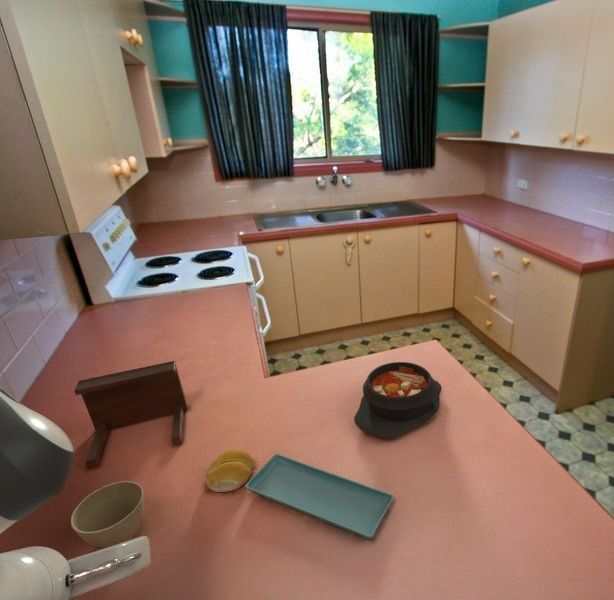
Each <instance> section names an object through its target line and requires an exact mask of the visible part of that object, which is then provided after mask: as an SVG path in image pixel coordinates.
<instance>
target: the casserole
mask: <svg viewBox="0 0 614 600" xmlns="http://www.w3.org/2000/svg"><path fill="white" fill-rule="evenodd" d="M441 392H442V385H441V383H440V382H439V381H437V380H436V379H434V378H433V377H432V375H431V373H430V372H429V371H428V370H427V368H425V367H423V366H421V365H419V364H416V363H413V362H406V361H393V362H387V363H385V364H381V365H380V366H377V367H375V368H374V369H372V370H371V371H370V372H369V374H368V375H367V378H366V379H365V381H364V382H363V385H362V394H363V396H362V397H361V400H360V403H359V407H358V409H357V411H356V413H355V415H354V417H353V421H354V424H355V425H356V426H357V427H358V429H360V430H361V431H363V432H364V433H366V434H369V435H372V436H374V437H379V438H390V439H391V438H395V437H398V436H401V435H402V434H404V433H406V432H407V431H409V430H411V429H413V428H416V427H418V426H421V425H423V424H425V423H427V422H429V421H430V420H432V418H434V416H436V415H437V413H438V411H439V408H440V404H441V403H440V395H441Z"/></svg>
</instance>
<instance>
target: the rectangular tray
mask: <svg viewBox="0 0 614 600" xmlns="http://www.w3.org/2000/svg"><path fill="white" fill-rule="evenodd" d="M244 488H245V489H247V490H248V491H249V492H251V493H252V494H255V495H257V496H260V497H262V498H264V499H267V500H270V501H272V502H274V503H276V504H279V505H282V506H283V507H286V508H288V509H291V510H294V511H296V512H298V513H301V514H304V515H306V516H308V517H311V518H313V519H316V520H318V521H321V522H324V523H326V524H328V525H331V526H333V527H336V528H338V529H341V530H343V531H345V532H348V533H351V534H353V535H356V536H359V537H361V538H363V539H366V540H371V538H373V536H374V535H375V534H376V531H377V529H378V528H379V525H380V523H381V521H382V520H383V517H384V515H385V514H386V512H387V511H388V508H389V507H390V505H391V504H392V502H393V500H394V498H395V497H394V494H392V493H389V492H386V491H383V490H380V489H377V488H375V487H372V486H369V485H366V484H363V483H360V482H357V481H355V480H353V479H349V478H346V477H343V476H341V475H338V474H335V473H332V472H330V471H327V470H324V469H322V468H318V467H315V466H313V465H310V464H307V463H304V462H301V461H299V460H296V459H293V458H291V457H287V456H285V455H282V454H280V453H274V454H273V455H272V456H271V457H270V459H269V460H268V461H267V462H266V463H265V464H264V465H263V466H262V467H261V468H260V469H259V470H258V472H257V473H256V474H255V475H254V476H252V477H251V479H250V480H249V481H248V482H247V483H246V484H245V485H244Z"/></svg>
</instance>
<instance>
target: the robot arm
mask: <svg viewBox="0 0 614 600" xmlns="http://www.w3.org/2000/svg"><path fill="white" fill-rule="evenodd" d="M76 452H77V451H76V448H75V446H74V445H73V444H72V441H71V439H70V438H69V436H68V435H67V433H66V432H64V430H63V429H62V428H61V427H59V425H58V424H56V423H55V422H54V421H52V420H51V419H49V418H47V417H45V416H44V415H42V414H41V413H39V412H37V411H35V410H33V409H30V408H28V407H27V406H26V405H24V404H23V403H22V402H20V401H19V400H18V399H16V398H15V397H13V396H12V395H11V394H10V393H8V392H7V391H5V390H4V389H3V388H2V387H0V535H1V534H2V533H4V532H5V531H6V530H7V529H9V528H11V526H13V525H15V523H17V522H18V521H20V520H23V519H25V518H26V517H27V516H29V515H30V514H32V513H33V512H35V511H37V510H38V509H39V508H41V507H42V506H44V505H46V504H47V503H49V502H50V501H51V500H53V499H54V498H56V497H57V496H59V495H60V494H62V493H63V492H64V491H65V488H66V487H67V484H68V481H69V479H70V476H71V473H72V470H73V467H74V463H75V458H76ZM151 560H152V559H151V545H150V540H149V536H147V535H141V536H138V537H135V538H132V539H131V540H128V541H125V542H122V543H119V544H116V545H113V546H110V547H107V548H101V549H97V550H95V551H92V552H89V553H85V554H83V555H80V556H77V557H74V558H70V559H66V557H64V555H63V554H61V552H59V551H57V550H56V549H53V548H50V547H47V546H39V545H38V546H37V545H36V546H35V545H34V546H33V545H32V546H26V547H22V548H18V549H13V550H9V551H5V552H1V553H0V600H70V599H72V598H75V597H79V596H81V595H83V594H84V595H85V594H86V593H89V592H92V591H95V590H98V589H101V588H103V587H107V586H109V585H111V584H114V583H117V582H119V581H122V580H124V579H127V578H128V577H131V576H133V575H135V574H137V573H139V572H142V571H144V570H146V569H147V568H149V566H150V565H151Z"/></svg>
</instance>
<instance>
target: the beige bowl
mask: <svg viewBox="0 0 614 600" xmlns="http://www.w3.org/2000/svg"><path fill="white" fill-rule="evenodd" d="M81 500H82V501H80V502H79V503H78V505H77V506H76V507H75V508H74V510H73V512H72V514H71V517H70V525H71V528H72V529H73V531H74V532H75V533H76V534H77V536H79V538H81V539H82V540H84V541H85V542H86V543H88V544H90V545H92V546H94V547H97V548H101V549H104V548H107V547H110V546H113V545H116V544H119V543H122V542H125V541H128V540H131V539H134V537H135V536H136V534H137V532H138V530H139V529H140V526H141V523H142V521H143V520H142V519H143V516H144V510H145V493H144V489H143V487H142V485H140V483H138V482H135V481H130V480H122V481H115V482H112V483H109V484H107V485H104V486H102V487H99V488H98V489H96V490H94V491H93V492H91V493H90V494H88V495H87V496H86V497H84V499H81Z"/></svg>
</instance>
